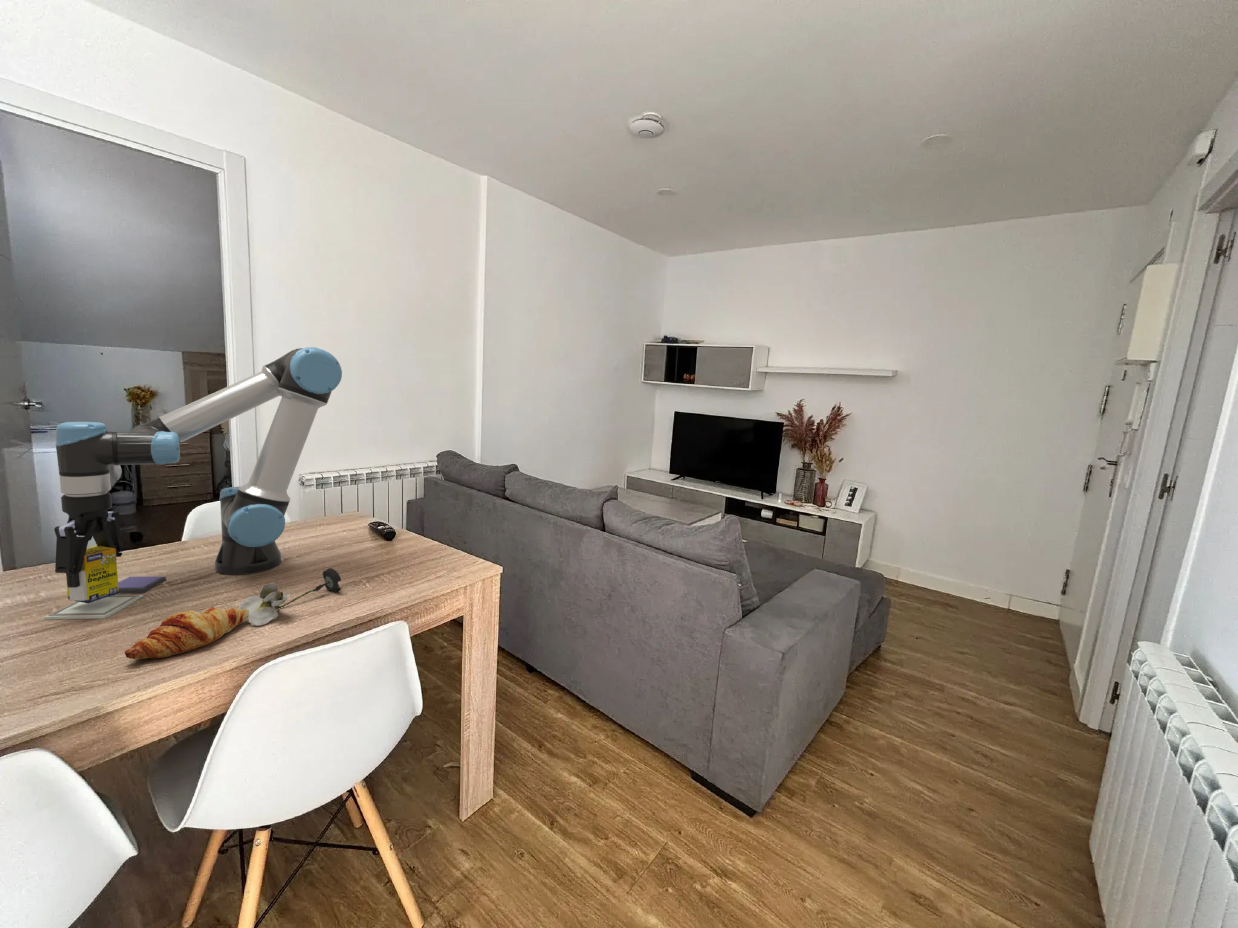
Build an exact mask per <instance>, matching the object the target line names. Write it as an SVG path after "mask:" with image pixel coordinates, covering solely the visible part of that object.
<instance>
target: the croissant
mask: <svg viewBox="0 0 1238 928" xmlns="http://www.w3.org/2000/svg"><path fill="white" fill-rule="evenodd" d="M248 613H249V610H244V611H243V610H241V609H238V608H235V607H231V608H230V609H225V608H223V609H219V608H218V607H210V608H208V609H206V610H204V611H203V612H198V611H196V610H186V611H185V610H184V611H182V612H176V613H174V614H171V615H170V616H169V617H167V618H164V620H162V622H161V624H160V625H159V626H158V627H157V628H155V629H152V630H151V631H149V633H148V635H147V636H146V638H142V639H139V641H137V642H135V643H134V644H133V645H132V646H131V647H130V648H128V649H126V650H124V655H125V657H126V658H128V659H133V660H137V659H140V660H141V659H142V660H143V659H149V658H150V659H161V658H168V657H170V656H175V655H178V654H183V653H184V654H185V653H187V652H190V651H194V650H195V649H197V648H200V647H203V646H207V645H209V644H212V643H213V642H214V641H216V640H218V639H220V638H221V637H222V636H224V635H225V634H227V633H229V632H231V631H232V630H233V629H234V628H235V627H237V626H239V625H240V624H242V623H244V621H246V620H247V619H249V616H248Z"/></svg>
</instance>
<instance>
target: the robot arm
mask: <svg viewBox="0 0 1238 928" xmlns="http://www.w3.org/2000/svg"><path fill="white" fill-rule="evenodd" d="M342 370H343V369H342V366H341V365H340V363H339V361H338V359H337V358H336V357H335V355H333V354H331V353H330V352H329V351H326V350H324V349H321V348H318V347H315V346H314V347H313V346H308V347H303V348H302V347H301V348H295V349H293V350H290V351H288V352H287V353H286V354H283V355H282V356H280V357H279V358H277V359H276V360H274V361H271V362H270V363H268V364H265V365H263V366H262V368H261V371H259V372H257V373H255V374H253V375H251V376H248V377H246V378H244V379H242V380H239V381H237V382H235V383H232V384H230V385H228V386H225V387H223V388H222V389H221V388H220V389H219V390H217V391H215V392H213V393H210V394H208V395H206V396H203V397H201V398H200V399H197V400H195V401H192V402H190V403H188V404H186V405H183V406H181V407H179V408H177V409H174V410H172V411H169V412H167V413H165V414H163V415H161V416H159V417H157V418H154V419H152V420H150V421H148V422H146V423H143V424H137V425H136V426H134V427H131V428H129V430H128V431H113V430H112V431H111V430H110V431H109V430H108V429H107V425H106V424H105V423H103V422H98V421H97V422H96V421H65V422H61V423H59V424H58V425H57V426H56V427H55V442H56V443H55V450H56V456H57V459H56V460H57V467H58V475H59V484H60V485H59V486H60V493H61V494H63V495H62V496H61V497H60V502H61V509H62V512H63V513H64V514H67V515H68V518H67V523H66V524H65V525H62V526H60V525H59V526H55V527H54V529H53V530H54V533H55V536H56V537H55V538H56V541H55V542H56V545H55V546H56V547H55V562H54V563H55V564H54V570H55V571H54V572H55V573H56V574H65V576H66V577H67V579H66V587H67V586H68V588H69V597H70V600H69V601H71V602H72V601H73V602H75V601H85V600H87V599H88V598H87V585H86V573H85V571H81V569H82V565H83V561H84V556H85V553H86V549H87V548H88V545H89V542H90V541H91V540H92V539H94V542H95V544H96V545H97V546H103V547H109V548H114V549H116V558H120V557H122V556H123V551H124V550H125V546H124V543H123V536H122V532H121V531H122V530H121V525H120V512H119V511H109V510H110V509H112V508H113V500H112V493H111V492H110V491H111V490H112V484H111V474H110V466H130V465H133V466H134V465H138V466H139V465H159V466H160V465H166V464H167V465H168V464H176V463H178V462H179V461H180V459H181V454H180V453H181V449H180V444H181V443H182V442H185V441H188V440H189V439H191V438H194V437H196V436H197V435H200V434H202V433H204V432H206V431H208V430H211V429H213V428H214V427H217V426H218V425H221V424H223V423H225V422H227V421H229V420H232V419H234V418H235V417H238V416H240V415H242V414H244V413H246V412H248V411H250V410H252V409H254V408H256V407H259V406H261V405H263V404H265V403H267V402H269V401H272V400H274V399H276V398H277V397H281V399H280V400H279V404H278V406H277V408H276V411H275V414H274V417H273V419H272V421H271V424H270V427H269V430H268V432H267V434H266V437H265V439H264V442H263V445H262V447H261V450H260V452H259V455H258V458H257V459H256V462H255V465H254V467H253V470H252V473H251V476H250V478H249V480H248V482H247V483H246V484H244V485H241V486H230V487H225V488H222V489H221V490H220V491H219V499H218V500H219V503H220V519H221V520H220V522H221V543H220V547H219V550H218V552H217V554H216V557H215V561H214V566H215V567H214V569H215V571H216V573H220V574H222V575H232V576H233V575H234V576H235V575H236V576H237V575H248V574H255V573H260V572H264V571H268V570H271V569H273V568H276V567H277V566H279V565H280V564H281V563H282V553H281V551H280V548H279V546H278V544H277V543H276V541H277V540H278V539H279V538H280V537H281V535H282V534H283V532H284V530H285V527H286V518H285V517H286V516H285V515H286V513H287V509H288V507H289V505H290V502H291V498H290V495H289V494H288V492H287V491H288V489H289V486H290V483H291V480H292V479H293V476H294V473H295V471H296V468H297V465H298V463H299V460H300V458H301V455H302V452H303V450H304V447H305V445H306V442H307V439H308V436H309V434H310V431H311V428H312V426H313V423H314V420H315V418H316V416H317V413H318V410H319V409H320V408H322V407H325V406H327V404H328V402H329V399H330V397H331V395H332V392H333V391H334V390H336V388H338V386H339V385H340V383H341V381H342V377H343V371H342ZM74 566H75V567H74Z"/></svg>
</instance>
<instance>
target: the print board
mask: <svg viewBox="0 0 1238 928" xmlns="http://www.w3.org/2000/svg"><path fill="white" fill-rule="evenodd" d="M143 597H144V595H143V594H116V595H112V596H109V597H106V598H103V599H100V600H97V601H93V602H91V603H83V602H78V601H73V602H71V603H70V604H67V605H66V606H63V607H60V608H59V609H57V610H55V611H54V612H51V613H49V614H47V615H45V616H44V620H80V619H81V620H83V619H85V620H86V619H87V620H88V619H89V620H91V619H93V620H95V619H96V620H97V619H107V618H108V617H111V616H112V615H114V614H116V613H118V612H119V611H122V610H123V609H126V608H127V607H128V606H130V605H132V604H133V603H135V602H137V601H139V600H140V599H143Z"/></svg>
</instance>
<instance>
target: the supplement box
mask: <svg viewBox="0 0 1238 928" xmlns="http://www.w3.org/2000/svg"><path fill="white" fill-rule="evenodd" d="M117 562H118V561H117V557H116V549H114V548H109V547H103V546H97V544H96V545H92V546H90V547H87V549H86V553H85V556H84V561H83V565H82V569H81V571H85V573H86V585H87V598H88V599H87V600H85V601H78V602H83V603H91V602H93V601H97V600H100V599H103V598H106V597H109V596H112V595H120V593H119V591H118V582H119V578H118V563H117ZM74 567H75V566H74ZM66 580H67V577H66ZM66 587H67V588H66V589H67V590H66V591H67V593H66V594H67V599H68V601H70V597H69V588H68V586H67V585H66Z"/></svg>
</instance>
